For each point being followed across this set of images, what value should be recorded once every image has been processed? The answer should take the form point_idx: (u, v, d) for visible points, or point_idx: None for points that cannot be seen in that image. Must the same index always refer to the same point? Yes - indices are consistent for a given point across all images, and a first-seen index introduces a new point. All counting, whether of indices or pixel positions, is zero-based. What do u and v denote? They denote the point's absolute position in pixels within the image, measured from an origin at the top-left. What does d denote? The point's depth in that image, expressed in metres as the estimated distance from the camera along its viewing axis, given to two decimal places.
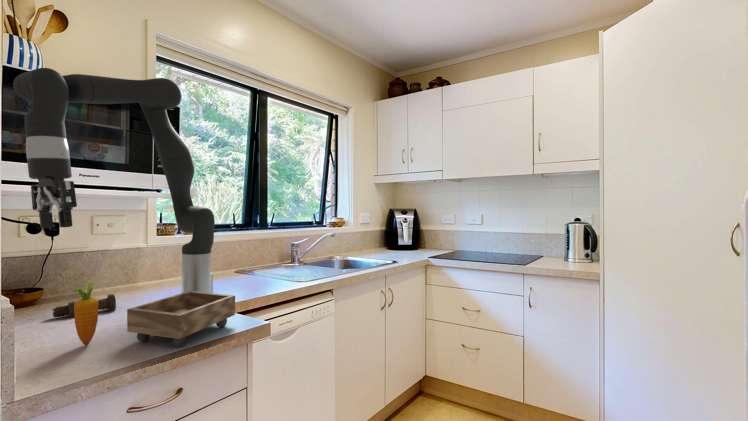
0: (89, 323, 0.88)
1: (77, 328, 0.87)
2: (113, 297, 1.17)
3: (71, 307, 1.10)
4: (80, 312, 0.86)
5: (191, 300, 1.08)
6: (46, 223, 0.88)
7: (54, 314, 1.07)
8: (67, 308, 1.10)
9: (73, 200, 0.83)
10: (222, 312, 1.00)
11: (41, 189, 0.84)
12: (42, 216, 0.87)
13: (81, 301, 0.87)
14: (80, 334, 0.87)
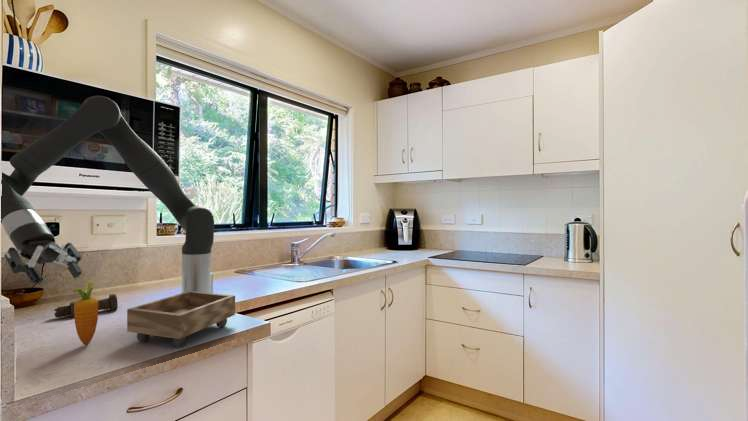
0: (89, 323, 0.88)
1: (77, 328, 0.87)
2: (115, 297, 1.17)
3: (73, 307, 1.10)
4: (80, 312, 0.86)
5: (191, 300, 1.08)
6: (74, 273, 0.95)
7: (56, 314, 1.07)
8: (69, 308, 1.10)
9: None
10: (222, 312, 1.00)
11: None
12: (69, 269, 0.96)
13: (81, 301, 0.87)
14: (80, 334, 0.87)
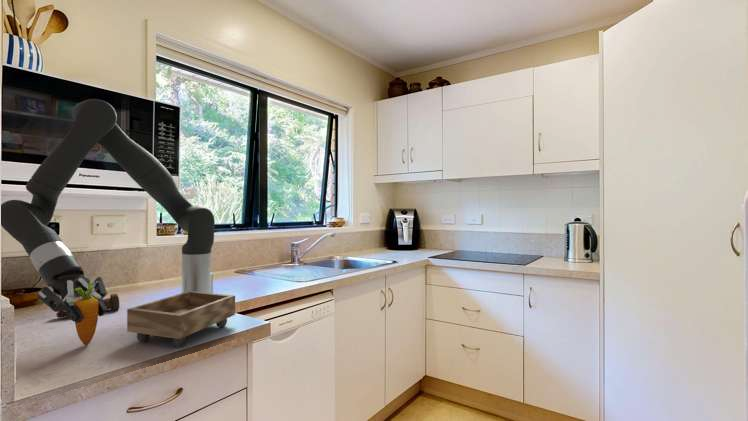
0: (89, 323, 0.88)
1: (77, 328, 0.87)
2: (116, 297, 1.17)
3: None
4: None
5: (191, 300, 1.08)
6: (99, 311, 0.91)
7: (58, 314, 1.07)
8: None
9: None
10: (222, 312, 1.00)
11: None
12: None
13: (81, 301, 0.87)
14: (80, 334, 0.87)
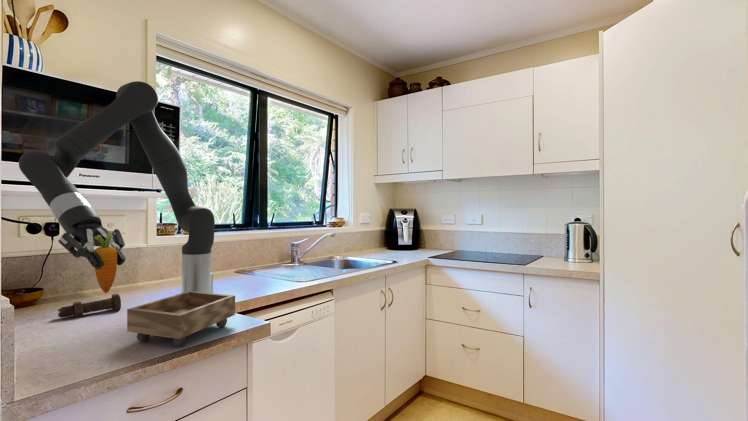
0: (109, 270, 0.89)
1: (97, 275, 0.89)
2: (118, 297, 1.17)
3: (77, 307, 1.10)
4: None
5: (191, 300, 1.08)
6: (118, 260, 0.92)
7: (60, 314, 1.07)
8: (73, 308, 1.10)
9: None
10: (222, 312, 1.00)
11: None
12: None
13: (100, 248, 0.89)
14: (100, 281, 0.89)
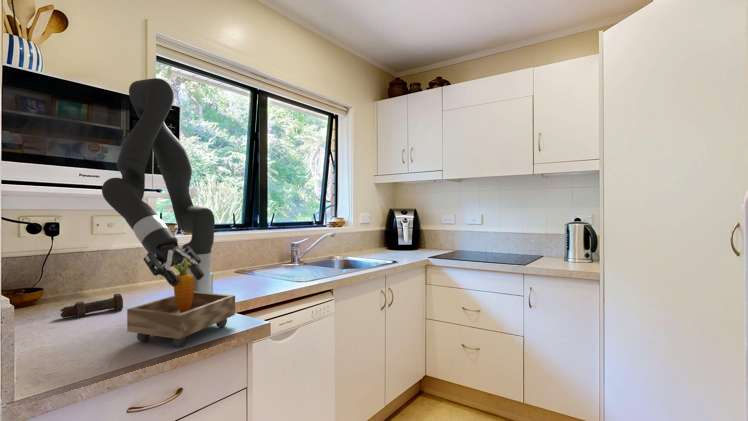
0: (188, 296, 0.96)
1: (177, 300, 0.96)
2: (120, 296, 1.18)
3: (79, 307, 1.10)
4: (180, 286, 0.95)
5: None
6: (197, 275, 1.01)
7: (62, 314, 1.07)
8: (75, 308, 1.10)
9: None
10: (222, 312, 1.00)
11: None
12: (193, 272, 1.02)
13: (180, 276, 0.96)
14: (180, 306, 0.96)
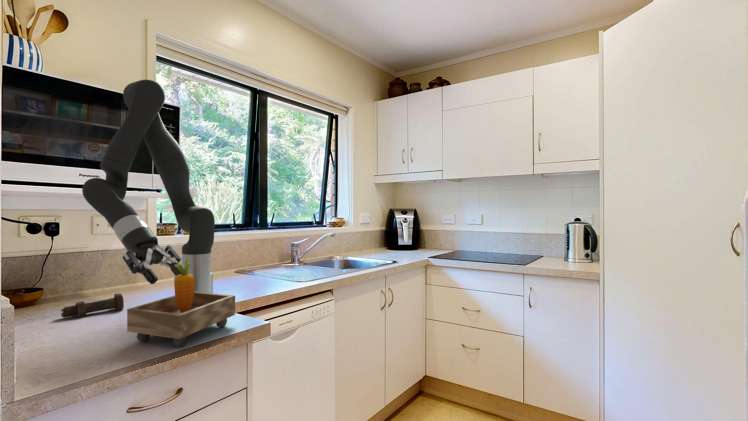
0: (188, 296, 0.96)
1: (178, 300, 0.96)
2: (121, 296, 1.18)
3: (80, 307, 1.10)
4: (181, 286, 0.95)
5: None
6: (177, 273, 1.03)
7: (63, 314, 1.07)
8: (76, 308, 1.10)
9: None
10: (222, 312, 1.00)
11: None
12: (172, 270, 1.04)
13: (181, 276, 0.96)
14: (180, 306, 0.96)
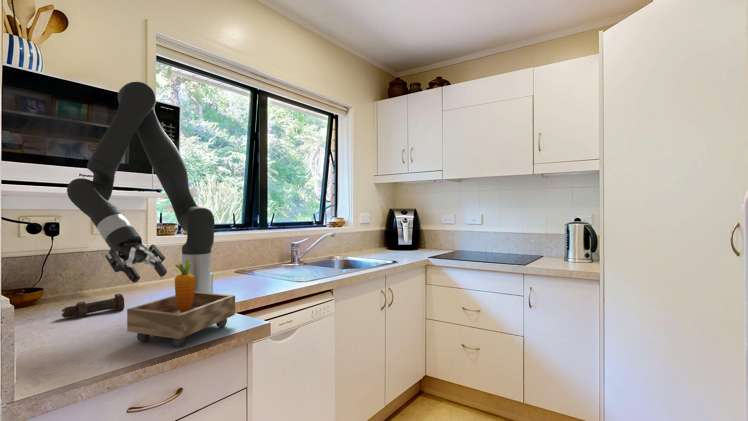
0: (189, 295, 0.96)
1: (178, 300, 0.96)
2: (121, 297, 1.18)
3: (81, 307, 1.10)
4: (181, 286, 0.95)
5: None
6: (160, 272, 1.05)
7: (64, 314, 1.07)
8: (77, 308, 1.10)
9: None
10: (222, 312, 1.00)
11: None
12: (156, 269, 1.05)
13: (182, 275, 0.96)
14: (181, 306, 0.96)
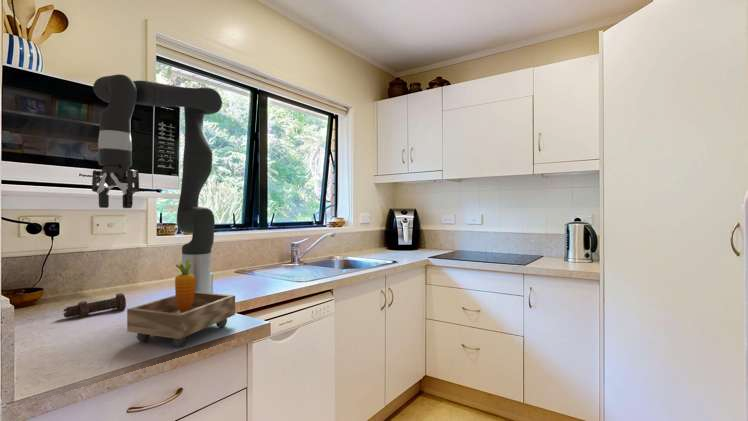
0: (189, 296, 0.96)
1: (178, 300, 0.96)
2: (123, 296, 1.18)
3: (82, 306, 1.10)
4: (181, 286, 0.95)
5: None
6: (104, 203, 1.02)
7: (66, 314, 1.07)
8: (78, 308, 1.10)
9: (137, 186, 1.00)
10: (222, 312, 1.00)
11: (107, 174, 1.00)
12: (101, 197, 1.02)
13: (182, 276, 0.96)
14: (181, 306, 0.96)
